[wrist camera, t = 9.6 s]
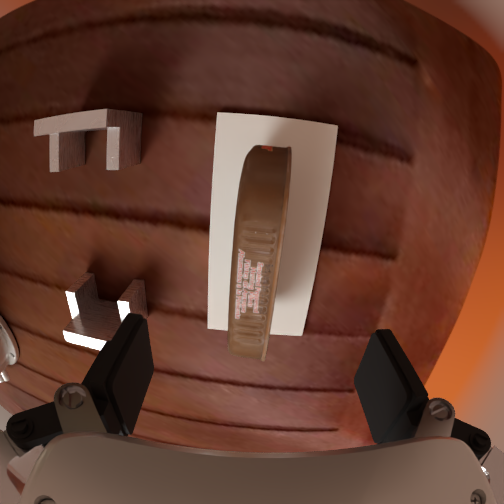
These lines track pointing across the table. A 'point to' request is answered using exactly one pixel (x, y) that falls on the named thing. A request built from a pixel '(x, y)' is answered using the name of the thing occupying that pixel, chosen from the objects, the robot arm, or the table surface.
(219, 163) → the mat
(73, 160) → the end brackets
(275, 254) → the tin
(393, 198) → the table surface
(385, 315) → the table surface
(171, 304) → the table surface
